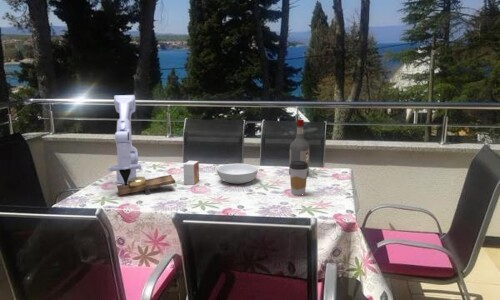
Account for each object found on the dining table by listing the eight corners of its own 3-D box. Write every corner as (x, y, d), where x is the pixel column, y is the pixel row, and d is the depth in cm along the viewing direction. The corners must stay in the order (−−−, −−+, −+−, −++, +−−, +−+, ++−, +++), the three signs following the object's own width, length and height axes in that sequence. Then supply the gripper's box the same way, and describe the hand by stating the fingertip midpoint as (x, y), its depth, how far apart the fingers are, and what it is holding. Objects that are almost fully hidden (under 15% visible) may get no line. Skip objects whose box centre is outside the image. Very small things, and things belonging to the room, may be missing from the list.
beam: (118, 195, 196) (118, 191, 195) (117, 188, 205) (116, 185, 205) (175, 183, 204) (174, 179, 203) (171, 177, 213) (171, 174, 213)
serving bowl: (210, 184, 215) (209, 171, 214) (227, 174, 234) (227, 161, 233) (248, 189, 208) (248, 175, 206) (263, 178, 227) (263, 165, 225)
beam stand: (145, 194, 199) (145, 185, 198) (142, 187, 210) (142, 178, 209) (150, 194, 200) (149, 185, 199) (147, 187, 211) (146, 178, 210)
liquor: (287, 175, 230) (288, 120, 224) (295, 172, 238) (296, 118, 232) (303, 178, 226) (304, 121, 219) (310, 174, 233) (311, 119, 227)
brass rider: (129, 189, 198) (128, 183, 197) (128, 184, 205) (127, 178, 205) (147, 186, 200) (145, 179, 200) (145, 181, 208) (144, 175, 207)
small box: (194, 185, 214) (193, 164, 212) (183, 184, 215) (183, 164, 213) (199, 180, 222) (199, 160, 220) (189, 180, 223) (188, 160, 221)
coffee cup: (308, 192, 203) (309, 161, 200) (305, 197, 195) (305, 165, 192) (291, 190, 206) (292, 159, 202) (287, 195, 198) (287, 164, 195)
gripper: (107, 159, 192) (110, 188, 195) (141, 157, 197) (142, 185, 200) (107, 156, 198) (109, 184, 201) (139, 154, 203) (141, 181, 206)
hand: (125, 185), depth 201 cm, fingers closed
